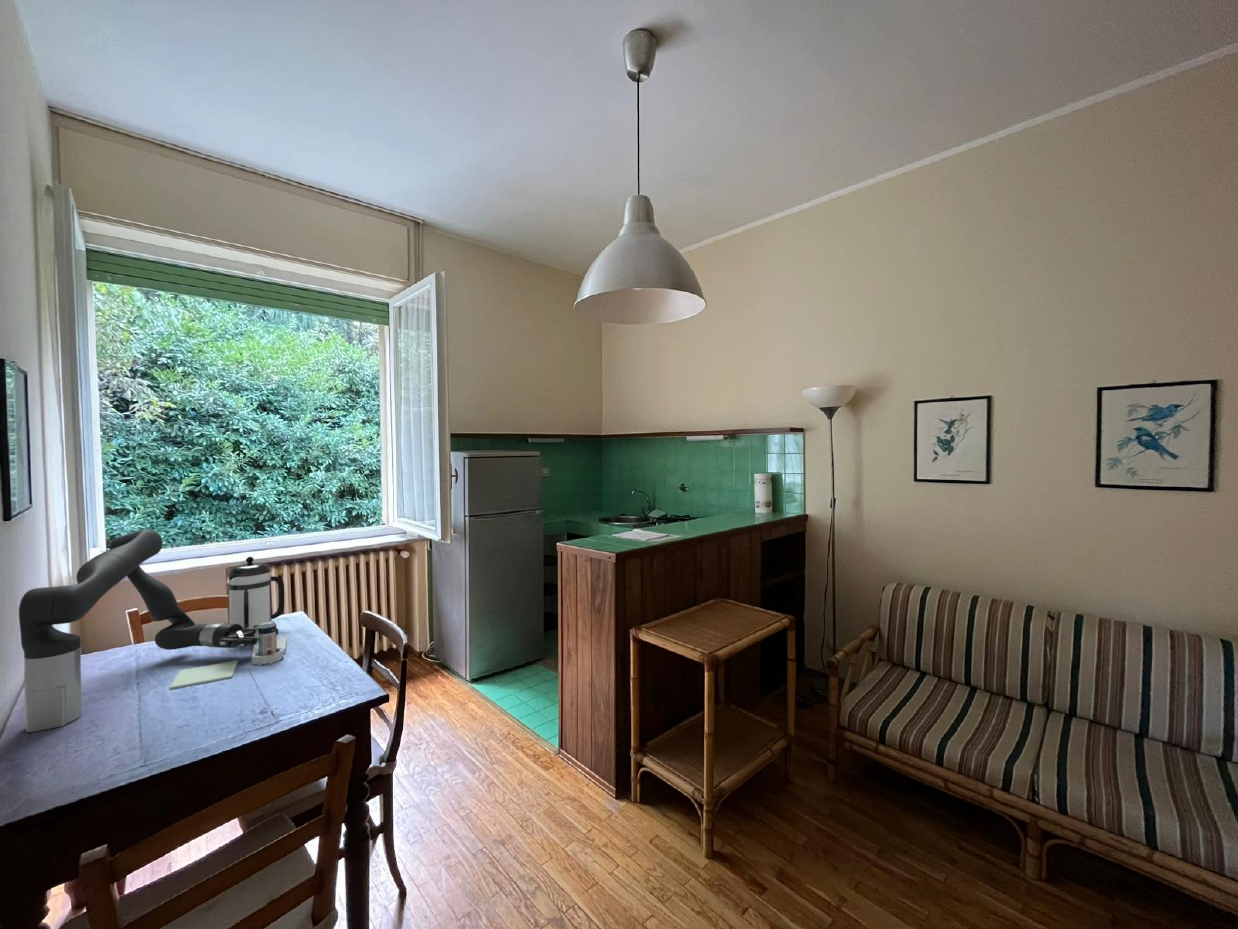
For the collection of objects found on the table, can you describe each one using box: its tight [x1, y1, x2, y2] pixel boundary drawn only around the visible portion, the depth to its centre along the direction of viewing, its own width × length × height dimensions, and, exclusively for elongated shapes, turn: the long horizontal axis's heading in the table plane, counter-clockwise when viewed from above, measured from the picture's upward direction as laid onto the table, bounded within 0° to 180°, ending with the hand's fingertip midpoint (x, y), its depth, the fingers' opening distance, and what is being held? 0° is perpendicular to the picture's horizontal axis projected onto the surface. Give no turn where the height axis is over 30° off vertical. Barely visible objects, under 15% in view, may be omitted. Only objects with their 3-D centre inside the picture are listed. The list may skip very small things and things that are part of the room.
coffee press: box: [226, 556, 285, 636], centre depth 182 cm, size 17×16×30 cm
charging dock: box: [251, 636, 287, 665], centre depth 166 cm, size 22×9×2 cm, turn 32°
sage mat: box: [168, 660, 239, 690], centre depth 149 cm, size 14×14×1 cm
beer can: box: [257, 620, 278, 656], centre depth 161 cm, size 5×5×12 cm
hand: (267, 636), depth 161 cm, fingers open, 8 cm apart
